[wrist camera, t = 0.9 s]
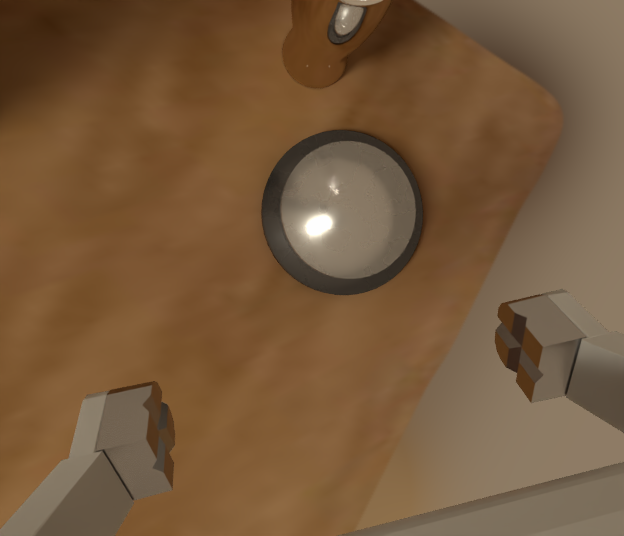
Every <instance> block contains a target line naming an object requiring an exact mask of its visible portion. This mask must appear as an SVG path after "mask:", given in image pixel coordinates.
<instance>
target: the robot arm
mask: <svg viewBox="0 0 624 536" xmlns="http://www.w3.org/2000/svg"><path fill="white" fill-rule="evenodd" d="M498 318H499V319H500V320H501V321H502V323H501V324H500V326H499V327H498V328H497V329H496V332H495V344H496V349H497V352H498V354H499V357H500V359H501V360H502V362H503V363H504V365H505V367H506V368H508V369H510V370H512V371H514V372H516V373H517V378H516V382H517V384H518V385H519V387H520V388H521V389H522V391H523V392H524V393H525V395H526V396H527V398H528V399H529V401H530V402H531V403H534V402H538V401H543V400H548V399H552V398H557V397H562V396H566V395H567V396H566V397H567V398H568V399H569V400H571V401H573V402H574V403H576V404H578V405H579V406H581V407H583V408H584V409H586V410H587V411H589V412H591V413H592V414H594V415H596V416H597V417H599V418H600V419H602V420H604V421H605V422H607V423H609V424H610V425H612V426H613V427H615V428H617V429H618V430H620V431H622V432H623V433H624V334H622V333H619V332H617V331H615V332H609V331H608V330H607V329H606V328H604V326H603V325H602V324H601V323H599V322H598V321H597V320H596V319H595V318H594V317H593V316H592V315H591V314H590V313H589V312H588V311H587V310H586V309H585V308H584V307H583V306H582V305H581V304H580V303H579V302H578V301H577V300H576V299H575V298H574V297H573V296H572V295H571V294H570V293H569V292H567V291H565V290H563V289H560V290H556V291H551V292H547V293H543V294H541V295H535V296H530V297H526V298H522V299H518V300H513V301H509V302H505V303H502V304H501V305H500V307H499V309H498ZM161 400H162V391H161V389H160V387H159V385H158V383H157V382H155V381H153V382H147V383H142V384H137V385H132V386H127V387H122V388H117V389H112V390H110V391H105V392H100V393H95V394H89V395H87V396H86V397H85V399H84V400H83V402H82V406H81V410H80V414H79V418H78V422H77V426H76V430H75V434H74V439H73V443H72V447H71V451H70V455H69V459H65V460H61V462H60V463H59V464H58V465H57V466H56V467H55V468H54V469H53V471H52V472H51V473H50V474H49V475H48V476H47V477H46V478H45V480H44V481H43V482H42V483H41V484H40V485H39V486H38V487H37V489H36V490H35V491H34V492H33V493H32V494H31V495H30V496H29V498H28V499H27V500H26V501H25V502H24V503H23V504H22V505H21V507H20V508H19V509H18V510H17V511H16V512H15V513H14V514H13V516H12V517H11V518H10V519H9V520H8V521H7V522H6V523H5V525H4V526H3V527H2V528H1V529H0V536H115V534H116V533H117V531H118V529H119V528H120V526H121V524H122V522H123V521H124V519H125V517H126V516H127V514H128V512H129V511H130V509H131V507H132V505H133V504H134V502H133V500H137V499H141V498H144V497H148V496H152V495H156V494H159V493H163V492H167V491H170V490H173V470H174V462H173V460H172V458H171V456H170V454H169V453H170V451H171V450H172V448H173V447H174V446H175V430H174V421H173V418H172V414H171V411H170V409H169V406H168V405H167V404H165V403H163V402H161ZM338 536H624V462H622V463H618V464H614V465H610V466H606V467H602V468H598V469H594V470H590V471H587V472H583V473H579V474H575V475H571V476H567V477H564V478H559V479H555V480H552V481H548V482H544V483H541V484H536V485H533V486H529V487H525V488H521V489H517V490H513V491H509V492H505V493H501V494H497V495H494V496H489V497H486V498H482V499H478V500H474V501H470V502H467V503H462V504H459V505H455V506H451V507H447V508H443V509H439V510H435V511H432V512H428V513H424V514H420V515H416V516H412V517H408V518H404V519H400V520H397V521H393V522H389V523H385V524H381V525H377V526H373V527H369V528H365V529H361V530H357V531H354V532H350V533H346V534H342V535H338Z"/></svg>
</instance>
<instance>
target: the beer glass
mask: <svg viewBox="0 0 624 536" xmlns="http://www.w3.org/2000/svg"><path fill="white" fill-rule="evenodd" d="M391 3H392V0H291V13H292V29H291V30H290V31H289V33H288V34H287V36H286V38H285V40H284V43H283V48H282V57H283V62H284V65H285V67H286V69H287V71H288V73H289V74H290V75H291V77H292V78H293V79H295V80H296V81H297V82H298V83H300V84H302V85H304V86H307V87H310V88H324V87H327V86H329V85H331V84H333V83H335V82H336V81H337V80H338V79H339V78H340V77H341V76H342V74H343V73H344V71H345V69H346V66H347V62H348V56H349V54H350V53H352V52H353V51H354V50H355V49H357V48H358V47H359V46H360V45H361V44H362V43H364V42H365V41H366V39H367V38H368V37H369V36H370V35H371V34H372V33H373V32H374V31H375V29H376V28H377V27H378V25H379V24H380V22H381V21H382V19H383V18H384V16H385V14H386V12H387V10H388V9H389V7H390V5H391Z"/></svg>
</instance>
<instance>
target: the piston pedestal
mask: <svg viewBox="0 0 624 536" xmlns="http://www.w3.org/2000/svg"><path fill="white" fill-rule="evenodd" d="M261 215H262V226H263V230H264V235H265V238H266V241H267V243H268V246H269V248H270V250H271V252H272V254H273V256H274V257H275V258H276V260H277V261H278V263H279V264H280V265H281V266H282V267H283V269H284V270H285V271H286V272H287V273H288V274H290V275H291V276H292V277H293V278H294V279H296V280H297V281H299V282H300V283H302V284H303V285H305V286H307V287H310V288H312V289H314V290H317V291H320V292H324V293H329V294H335V295H353V294H359V293H364V292H368V291H370V290H373V289H375V288H378V287H379V286H381V285H383V284H385V283H387V282H388V281H389V280H391V279H392V278H393V277H395V276H396V275H397V274H398V273H399V272H400V271H401V270H402V269H403V267H404V266H405V265H406V264H407V263H408V261H409V259H410V258H411V256H412V255H413V253H414V251H415V248H416V246H417V244H418V241H419V237H420V234H421V229H422V221H423V208H422V200H421V195H420V191H419V188H418V185H417V182H416V180H415V178H414V176H413V174H412V172H411V170H410V169H409V167H408V166H407V164H406V163H405V162H404V161H403V159H402V158H401V157H400V156H399V155H398V154H397V153H396V152H395V151H394V150H393V149H392V148H390V147H389V146H387V145H386V144H385V143H383V142H381V141H380V140H378V139H376V138H374V137H371V136H369V135H366V134H363V133H359V132H355V131H346V130H336V131H328V132H322V133H319V134H316V135H313V136H310V137H308V138H306V139H304V140H302V141H301V142H299V143H298V144H296V145H295V146H293V147H292V148H291V149H290V150H289V151H288V152H286V153H285V155H284V156H283V157H282V158H281V159H280V160H279V161H278V163H277V165H276V166H275V168H274V169H273V171H272V173H271V175H270V177H269V179H268V181H267V184H266V187H265V190H264V194H263V199H262V210H261Z"/></svg>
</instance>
